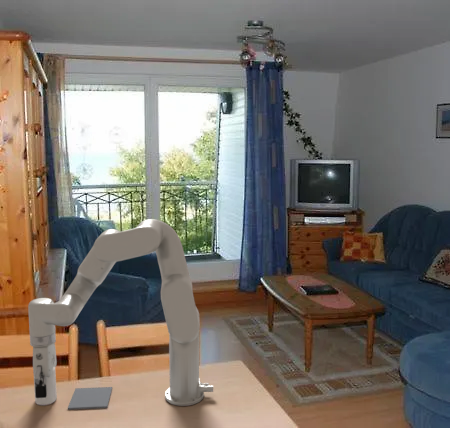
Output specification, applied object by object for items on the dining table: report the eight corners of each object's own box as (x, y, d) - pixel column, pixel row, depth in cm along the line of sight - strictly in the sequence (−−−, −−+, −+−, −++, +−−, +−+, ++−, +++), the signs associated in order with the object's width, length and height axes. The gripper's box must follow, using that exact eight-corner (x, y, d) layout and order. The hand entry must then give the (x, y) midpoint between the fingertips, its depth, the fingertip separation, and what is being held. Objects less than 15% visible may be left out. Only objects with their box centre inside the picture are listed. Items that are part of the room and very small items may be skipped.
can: (49, 407, 151) (47, 370, 150) (30, 404, 153) (28, 368, 151) (60, 396, 158) (59, 361, 156) (42, 394, 159) (40, 359, 157)
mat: (112, 388, 163) (112, 386, 163) (107, 407, 151) (107, 406, 151) (75, 390, 162) (75, 388, 162) (67, 409, 150) (67, 407, 150)
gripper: (48, 349, 144) (50, 403, 146) (61, 327, 161) (63, 375, 163) (21, 350, 143) (24, 404, 146) (38, 327, 160) (40, 376, 163)
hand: (45, 389), depth 154 cm, fingers open, 9 cm apart
